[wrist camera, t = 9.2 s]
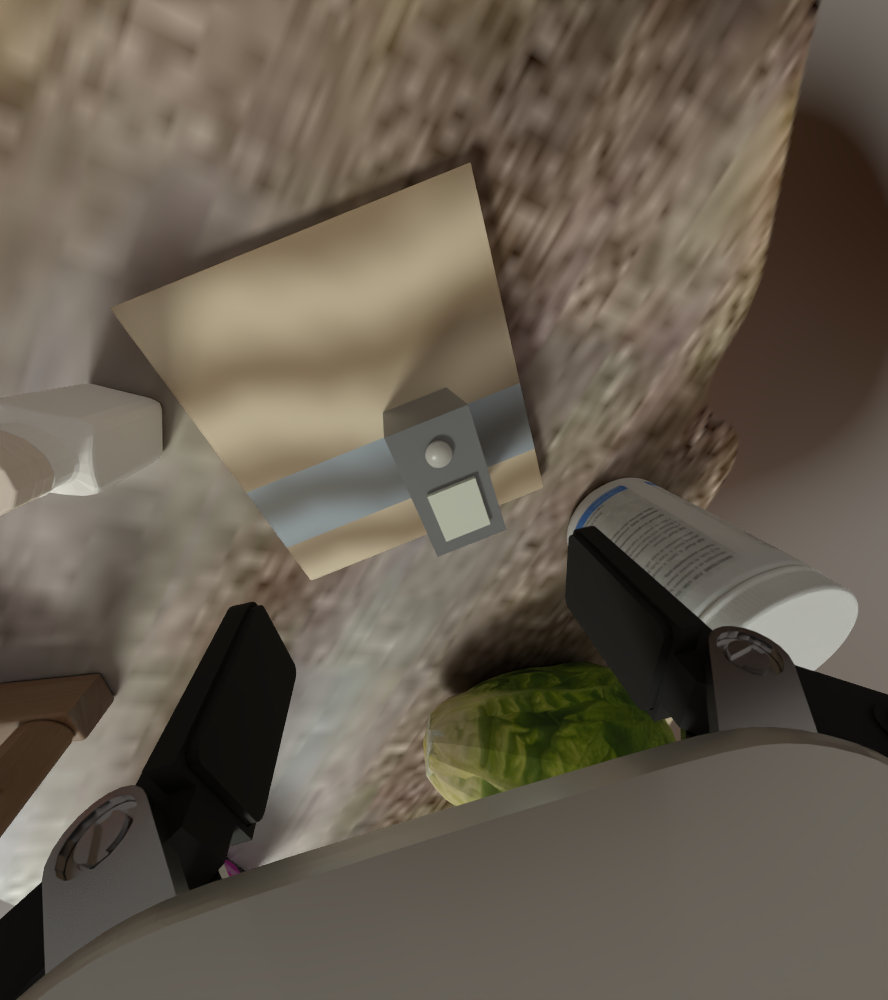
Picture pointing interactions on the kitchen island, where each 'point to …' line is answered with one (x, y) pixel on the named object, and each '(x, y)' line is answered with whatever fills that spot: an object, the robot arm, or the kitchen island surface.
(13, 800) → the wooden letter
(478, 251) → the plywood panel
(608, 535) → the supplement tub
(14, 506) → the pepper shaker
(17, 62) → the kitchen island surface
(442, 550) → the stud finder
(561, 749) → the lettuce
